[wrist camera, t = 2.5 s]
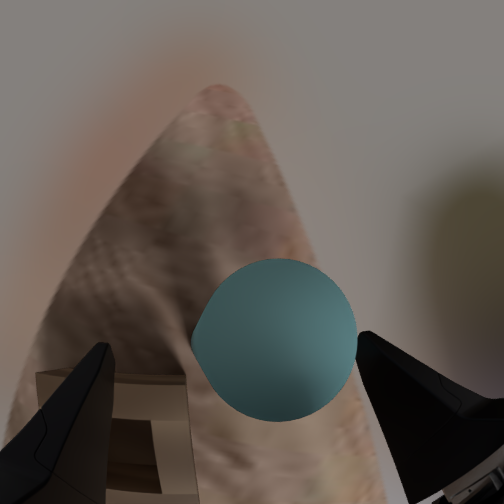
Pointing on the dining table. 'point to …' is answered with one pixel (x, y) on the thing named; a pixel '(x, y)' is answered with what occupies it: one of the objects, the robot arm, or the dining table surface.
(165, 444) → the walnut hole block
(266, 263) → the teal pin
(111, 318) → the dining table surface
